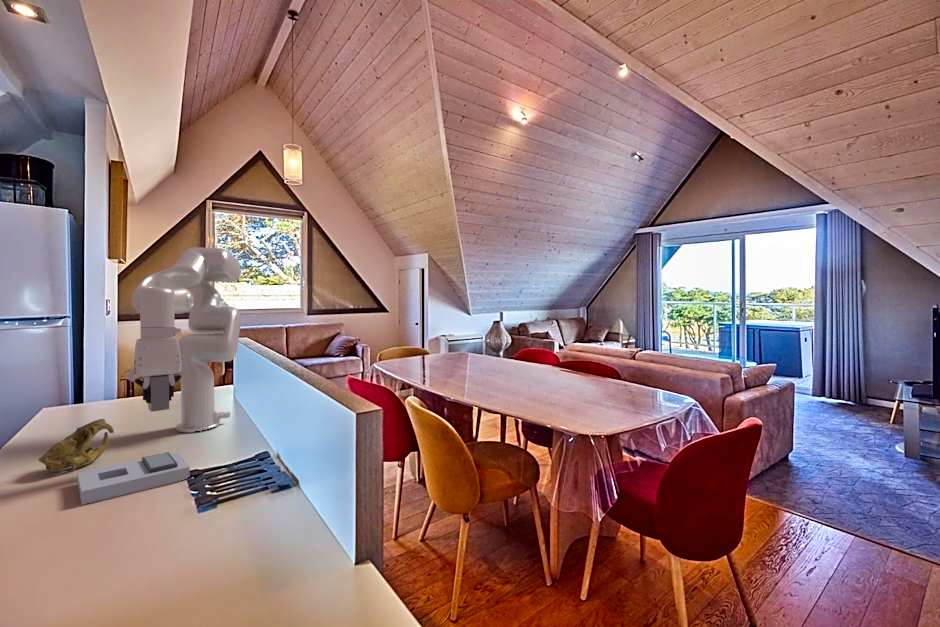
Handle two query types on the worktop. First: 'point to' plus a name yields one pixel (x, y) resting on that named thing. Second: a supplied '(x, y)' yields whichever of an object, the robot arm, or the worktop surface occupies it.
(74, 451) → the animal skull
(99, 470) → the dock board
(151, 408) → the block
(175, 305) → the robot arm
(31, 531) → the worktop surface
